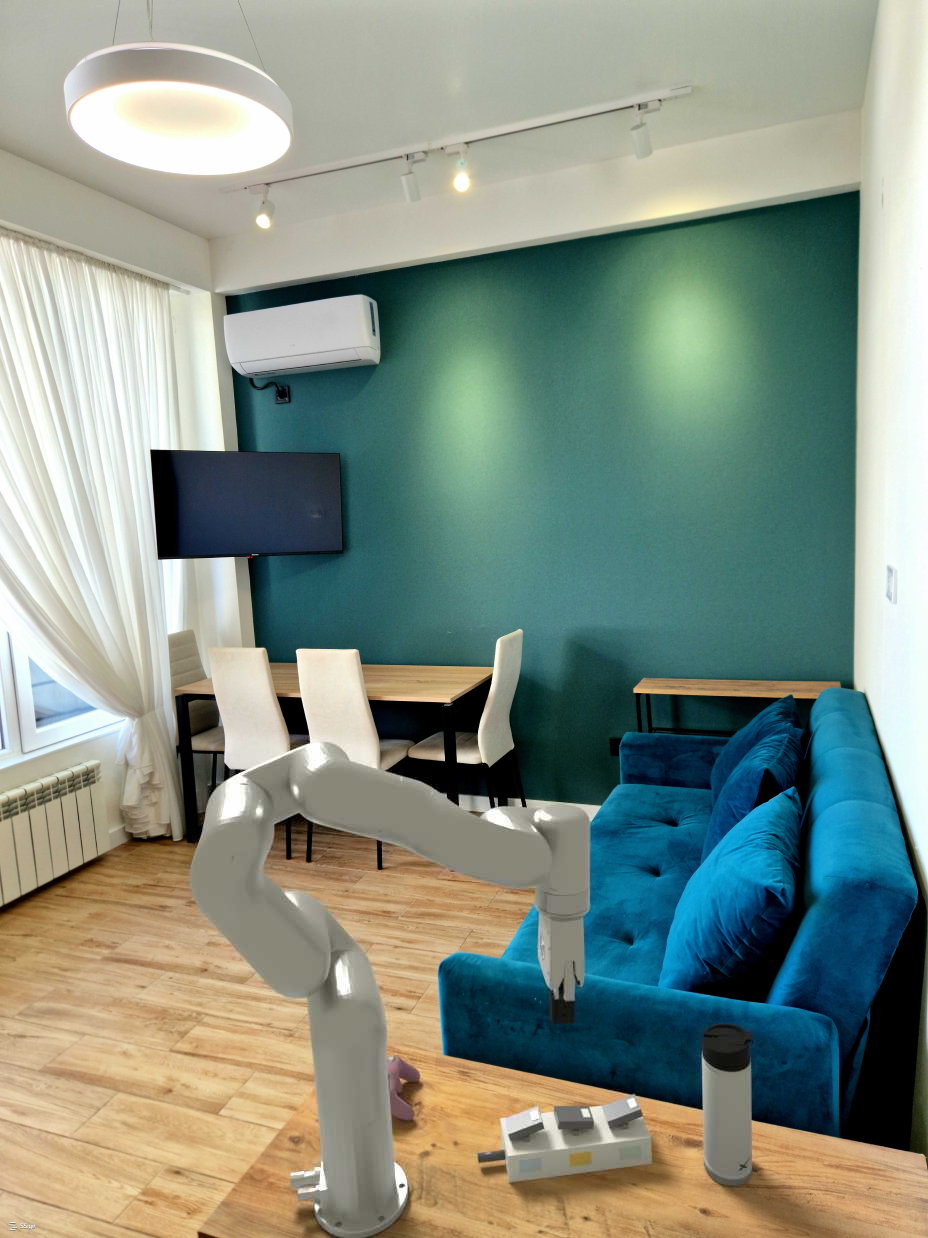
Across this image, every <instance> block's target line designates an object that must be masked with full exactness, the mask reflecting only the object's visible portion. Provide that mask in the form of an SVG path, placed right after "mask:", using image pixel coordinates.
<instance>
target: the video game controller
mask: <svg viewBox="0 0 928 1238" xmlns="http://www.w3.org/2000/svg"><path fill="white" fill-rule="evenodd" d="M387 1071H388V1085H389V1095H390V1108H391V1116H392V1115H393V1117H395V1118H397V1119H399V1120H402V1121H406V1122H408V1121H412V1120H413V1119H414V1118H415V1111H414V1109H413V1108H412V1106H411V1105H410V1104H408V1103H407V1102H405V1101H404V1100H402V1098H400V1097H399V1096H398V1094H401V1093H402V1091H403V1084H402V1082H401V1079H402V1080H404V1081H406V1082H411V1083H417V1082H418V1081H420V1079H421V1074H420V1072H419V1070H418V1069H417V1068H416V1067H414V1066H413V1065H411V1064H410V1063H408V1062H406V1061H405V1060H404V1059H402V1058H401V1057H400V1056H397V1055H395V1054H394V1055H393V1056H387Z"/></svg>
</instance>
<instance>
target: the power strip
mask: <svg viewBox="0 0 928 1238" xmlns="http://www.w3.org/2000/svg"><path fill="white" fill-rule="evenodd" d="M604 1105H605V1104H604ZM604 1105H598V1106H597V1105H596V1106H589V1108H590V1111H591V1114H592V1117H593V1120H594V1127H593V1129H559V1130H558V1127H557V1124H556V1120H555V1117H554V1111H549V1112H540V1113H541V1117H542V1121H543V1124H544V1128H545V1129H543V1130H540V1131H538V1132H535V1133H532V1134H530V1135H527V1136H524V1137H522V1138H519V1139H517V1140H514V1141H510V1139H509V1136H508V1132H507V1127H506V1122H505V1118H506V1117H500V1118H499V1120H500V1135H501V1139H500V1140H501V1148H502V1149H499V1150H492V1151H491V1150H490V1151H483V1152H478V1153H476V1154H477V1162H478V1164H484V1163H490V1162H498V1161H499V1162H500V1161H504V1163H505V1169H506V1173H507V1178H508V1183H509V1184H510V1183H516V1182H517V1183H518V1182H524V1181H531V1180H538V1179H540V1180H541V1179H546V1178H554V1177H561V1176H563V1177H564V1176H569V1175H577V1174H578V1175H579V1174H585V1173H591V1172H593V1173H594V1172H599V1171H600V1172H601V1171H605V1170H606V1171H608V1170H615V1169H620V1168H621V1169H622V1168H623V1169H624V1168H632V1167H637V1166H645V1165H651V1164H653V1160H652V1159H653V1157H652V1156H653V1155H652V1154H653V1153H652V1136H651V1134H650V1131H649V1129H648V1127H647V1125H646V1123H645V1120H644V1118H643V1117H644V1116H643V1117H640V1118H638V1119H635V1120H632V1121H630V1122H627V1123H624V1124H622V1125H619V1126H616V1127H614V1128H611V1129H610V1128H609V1126H608V1123H607V1120H606V1118H605V1115H604V1112H603V1109H602V1106H604Z"/></svg>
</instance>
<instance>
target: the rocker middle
mask: <svg viewBox="0 0 928 1238" xmlns="http://www.w3.org/2000/svg"><path fill="white" fill-rule="evenodd" d="M589 1107H590V1105H554V1106H553V1112H554V1117H555V1120H556V1124H557V1127H558V1130H559V1129H593V1127H594V1120H593V1117H592V1114H591V1111H590V1108H589Z"/></svg>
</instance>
